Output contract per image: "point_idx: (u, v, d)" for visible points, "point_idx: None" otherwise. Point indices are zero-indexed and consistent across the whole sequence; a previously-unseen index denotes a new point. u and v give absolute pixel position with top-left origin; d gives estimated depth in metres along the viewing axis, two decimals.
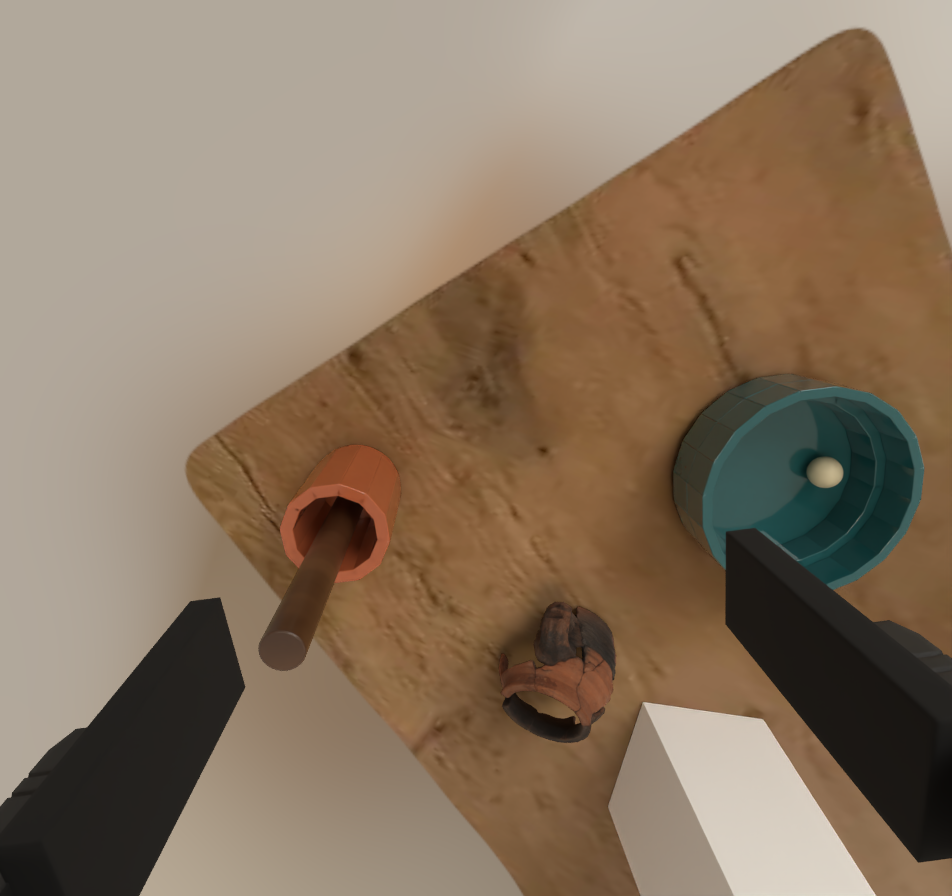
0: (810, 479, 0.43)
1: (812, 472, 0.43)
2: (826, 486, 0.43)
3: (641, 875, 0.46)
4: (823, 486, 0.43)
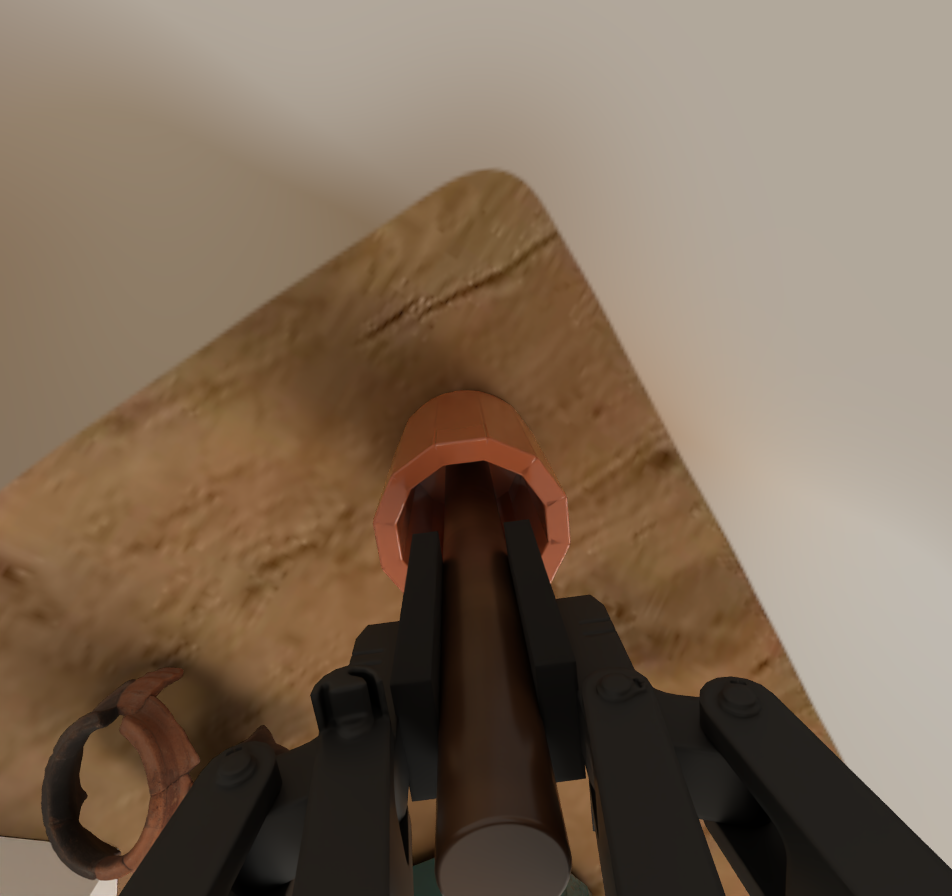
0: None
1: None
2: None
3: None
4: None
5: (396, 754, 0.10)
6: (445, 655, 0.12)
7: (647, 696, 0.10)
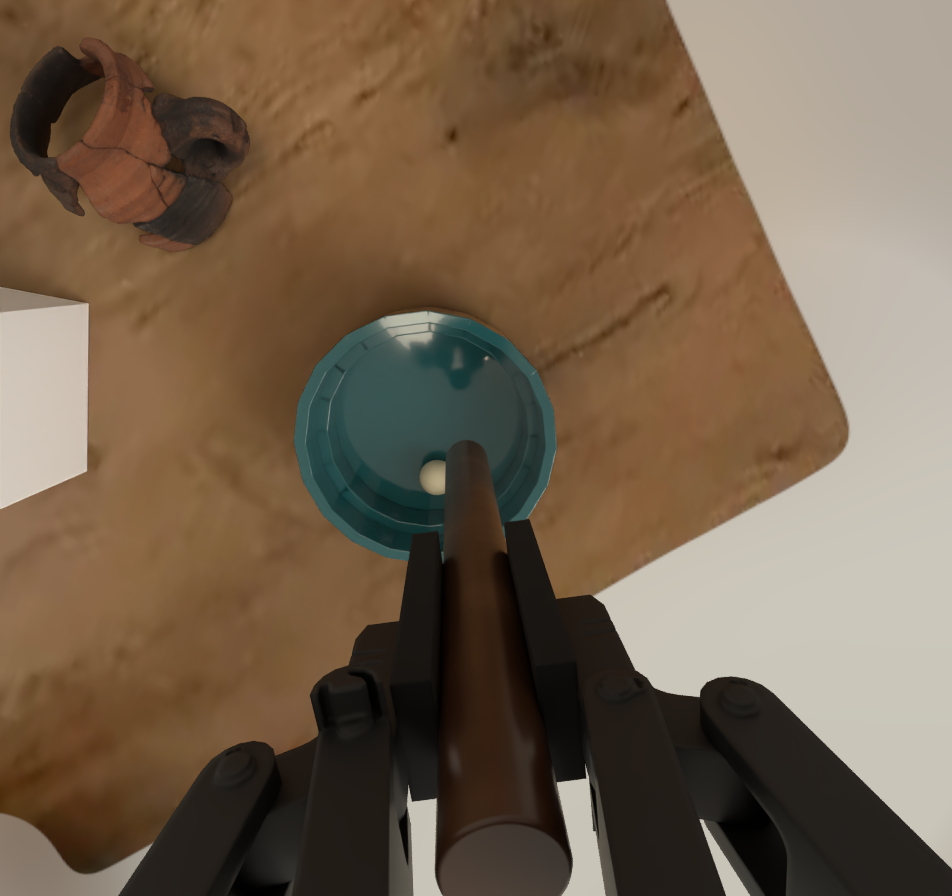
0: (428, 463, 0.38)
1: (437, 462, 0.38)
2: (423, 478, 0.38)
3: None
4: (423, 475, 0.38)
5: (396, 754, 0.10)
6: (445, 655, 0.12)
7: (647, 696, 0.10)
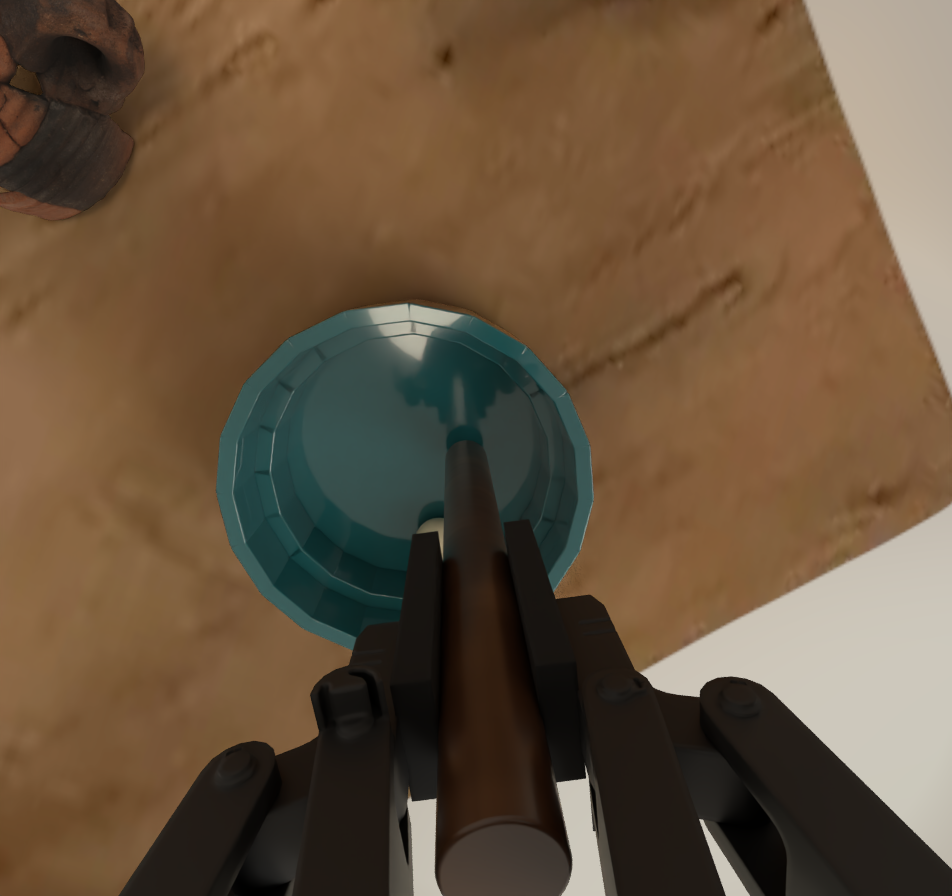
0: None
1: None
2: None
3: None
4: None
5: (396, 754, 0.10)
6: (445, 655, 0.12)
7: (647, 696, 0.10)
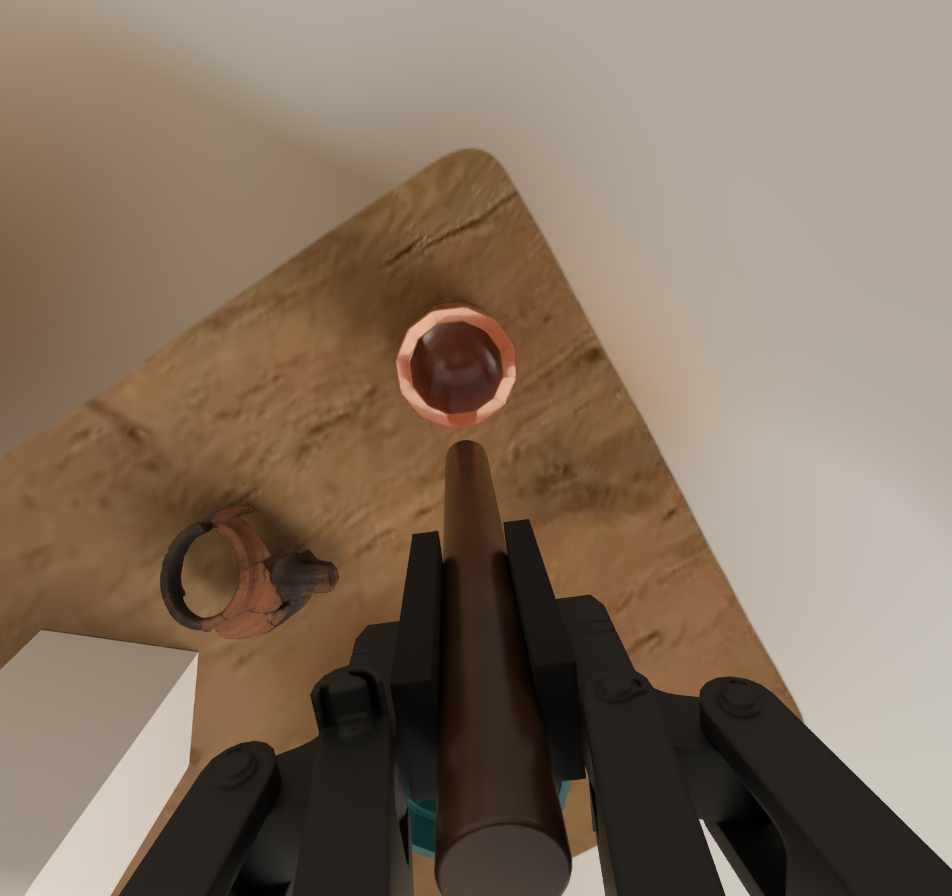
0: None
1: None
2: None
3: None
4: None
5: (396, 754, 0.10)
6: (445, 655, 0.12)
7: (647, 696, 0.10)
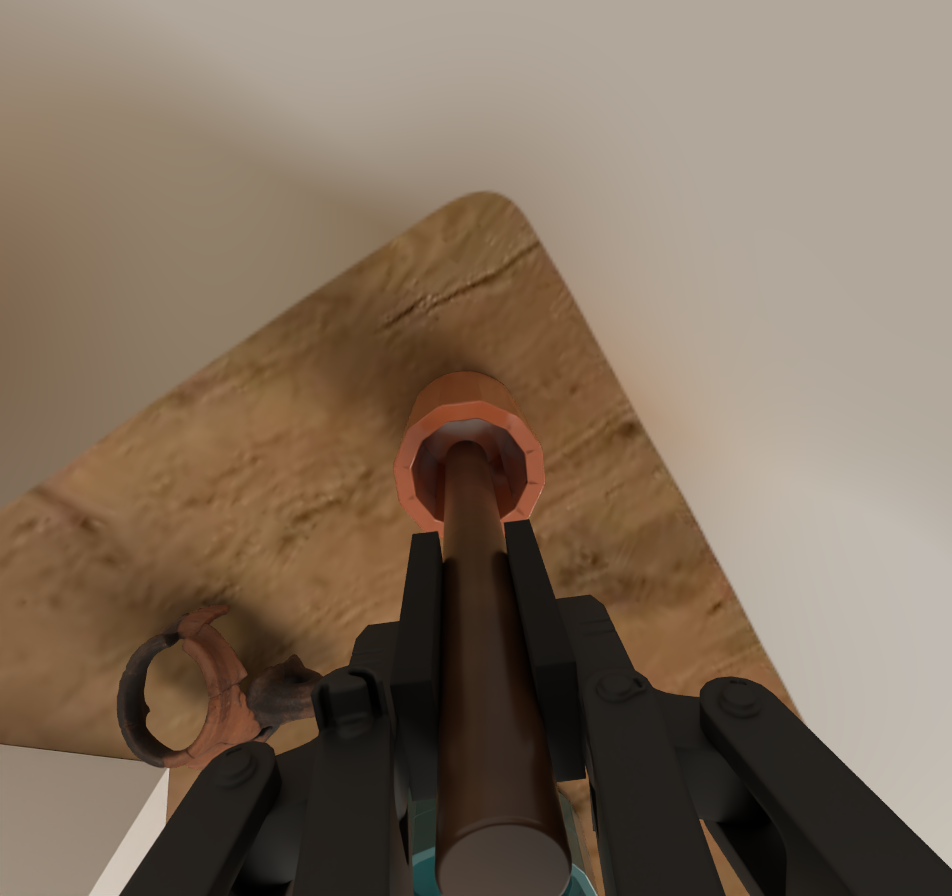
0: None
1: None
2: None
3: None
4: None
5: (396, 754, 0.10)
6: (445, 655, 0.12)
7: (647, 696, 0.10)
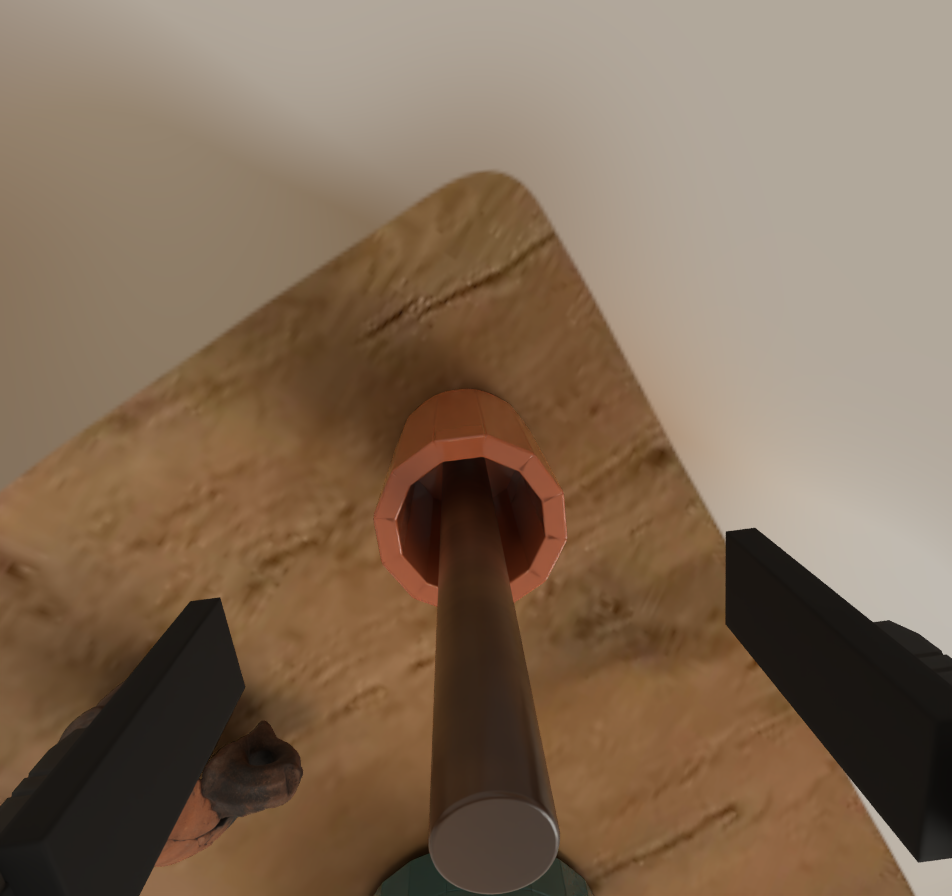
0: None
1: None
2: None
3: None
4: None
5: None
6: (440, 643, 0.13)
7: None
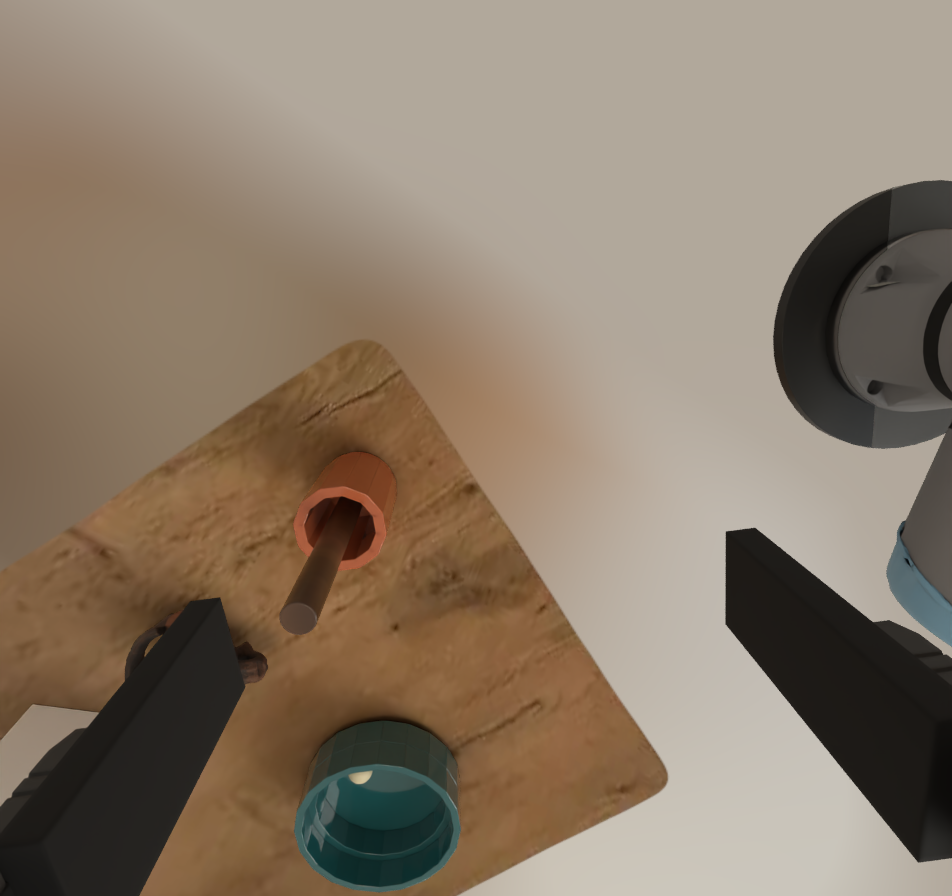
0: None
1: None
2: (354, 780, 0.55)
3: None
4: (354, 778, 0.55)
5: None
6: (301, 571, 0.34)
7: None
